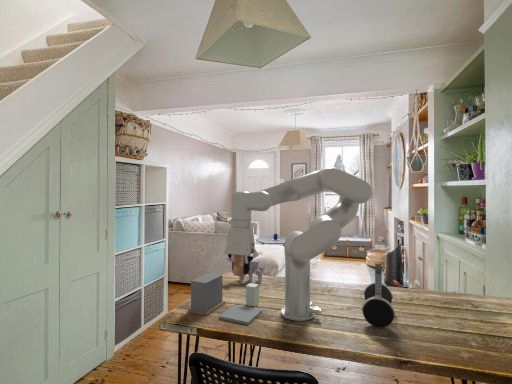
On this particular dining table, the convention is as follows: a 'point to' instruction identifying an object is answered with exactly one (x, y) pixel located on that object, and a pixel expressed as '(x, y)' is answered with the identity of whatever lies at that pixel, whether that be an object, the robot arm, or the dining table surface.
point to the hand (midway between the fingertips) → (240, 272)
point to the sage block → (252, 294)
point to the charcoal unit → (206, 294)
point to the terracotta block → (239, 265)
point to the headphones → (378, 302)
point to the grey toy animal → (253, 266)
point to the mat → (240, 314)
